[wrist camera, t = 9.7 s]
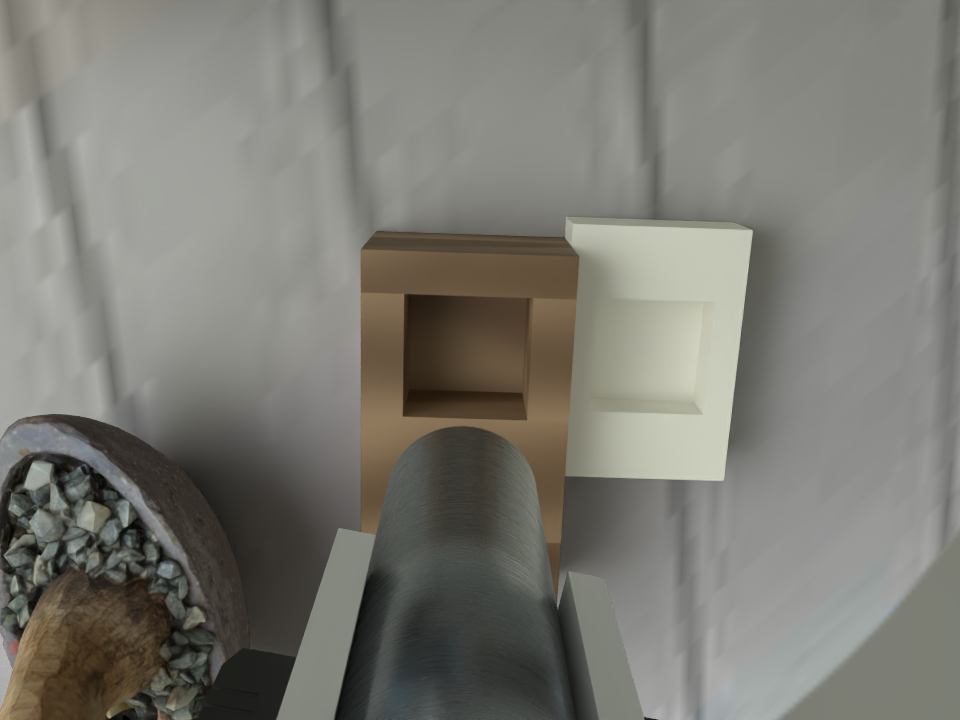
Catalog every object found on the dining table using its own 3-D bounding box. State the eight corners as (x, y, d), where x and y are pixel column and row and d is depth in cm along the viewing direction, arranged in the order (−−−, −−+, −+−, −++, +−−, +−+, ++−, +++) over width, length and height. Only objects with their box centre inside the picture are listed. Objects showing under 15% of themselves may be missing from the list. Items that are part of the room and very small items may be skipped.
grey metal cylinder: (387, 423, 23) (179, 1176, 7) (541, 428, 23) (705, 1183, 7) (386, 562, 24) (205, 1498, 8) (533, 566, 24) (659, 1504, 8)
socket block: (376, 231, 42) (360, 249, 36) (564, 237, 42) (579, 256, 36) (375, 571, 47) (361, 635, 41) (544, 576, 47) (554, 640, 41)
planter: (239, 724, 49) (89, 1116, 30) (-33, 571, 46) (-393, 892, 27) (385, 525, 46) (322, 819, 27) (102, 348, 43) (-197, 533, 24)
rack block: (566, 216, 42) (573, 223, 39) (733, 222, 42) (753, 230, 39) (551, 453, 45) (557, 476, 42) (707, 457, 45) (723, 480, 42)
